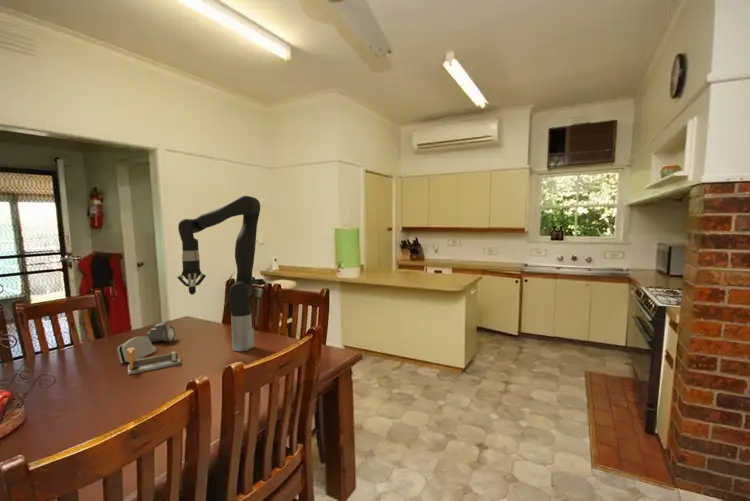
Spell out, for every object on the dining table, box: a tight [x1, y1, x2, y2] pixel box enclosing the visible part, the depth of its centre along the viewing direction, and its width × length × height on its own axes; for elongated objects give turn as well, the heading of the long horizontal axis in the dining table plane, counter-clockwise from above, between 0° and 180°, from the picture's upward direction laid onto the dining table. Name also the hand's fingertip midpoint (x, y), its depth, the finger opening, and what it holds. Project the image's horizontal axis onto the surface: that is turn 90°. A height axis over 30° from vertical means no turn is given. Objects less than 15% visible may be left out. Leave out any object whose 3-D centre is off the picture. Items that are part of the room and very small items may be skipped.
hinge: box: [116, 335, 157, 364], centre depth 161 cm, size 17×5×10 cm, turn 175°
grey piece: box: [127, 351, 182, 376], centre depth 150 cm, size 19×9×5 cm, turn 125°
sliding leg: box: [127, 348, 135, 369], centre depth 146 cm, size 2×7×7 cm, turn 35°
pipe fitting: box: [146, 321, 176, 343], centre depth 182 cm, size 12×8×10 cm
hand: (192, 294), depth 172 cm, fingers closed
